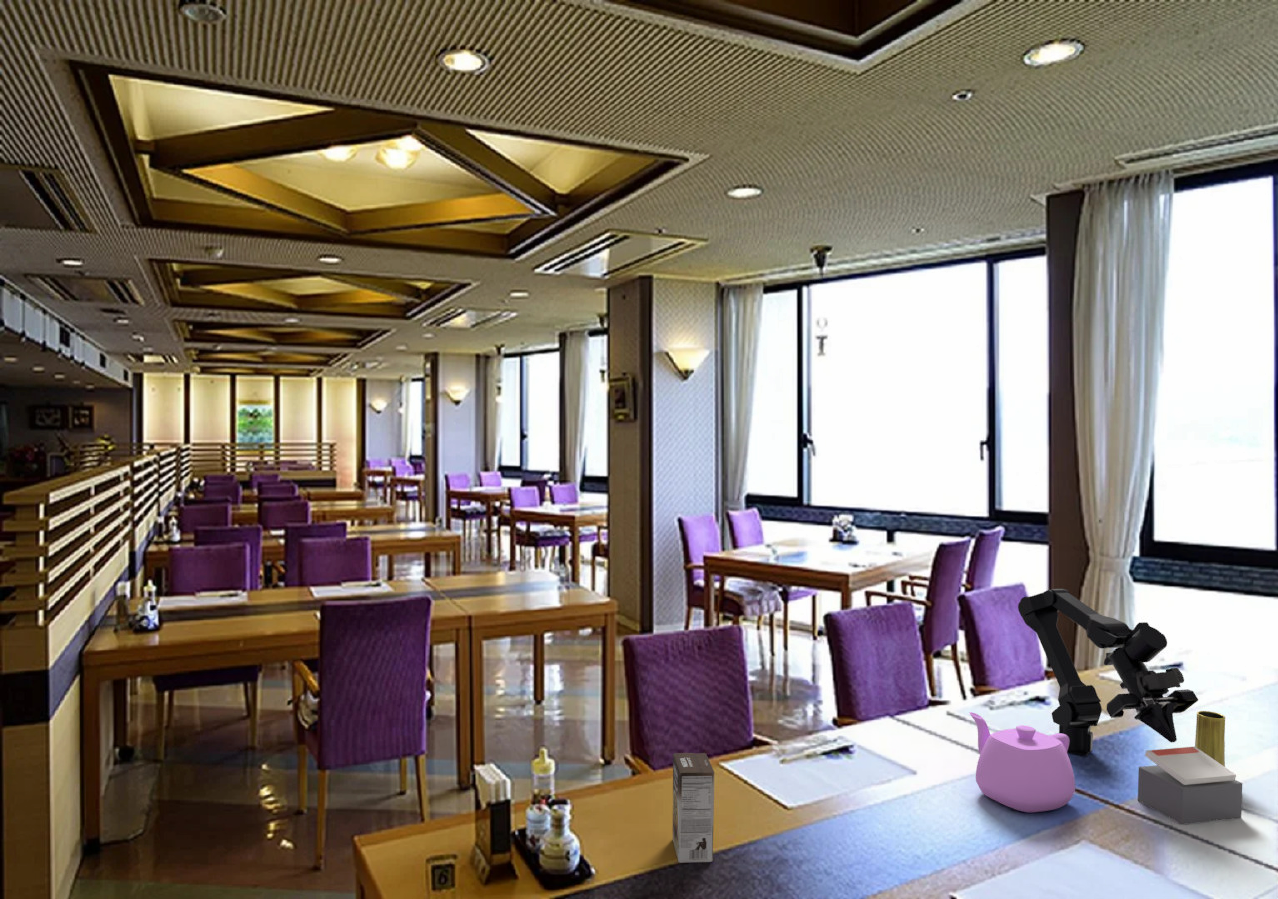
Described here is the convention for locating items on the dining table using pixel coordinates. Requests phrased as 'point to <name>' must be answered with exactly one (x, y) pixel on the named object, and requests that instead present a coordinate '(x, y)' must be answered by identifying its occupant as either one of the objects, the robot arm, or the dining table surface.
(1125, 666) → the robot arm
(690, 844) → the coffee box
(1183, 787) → the switch box
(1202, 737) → the vase
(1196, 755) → the rocker
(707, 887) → the dining table surface
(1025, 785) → the teapot
